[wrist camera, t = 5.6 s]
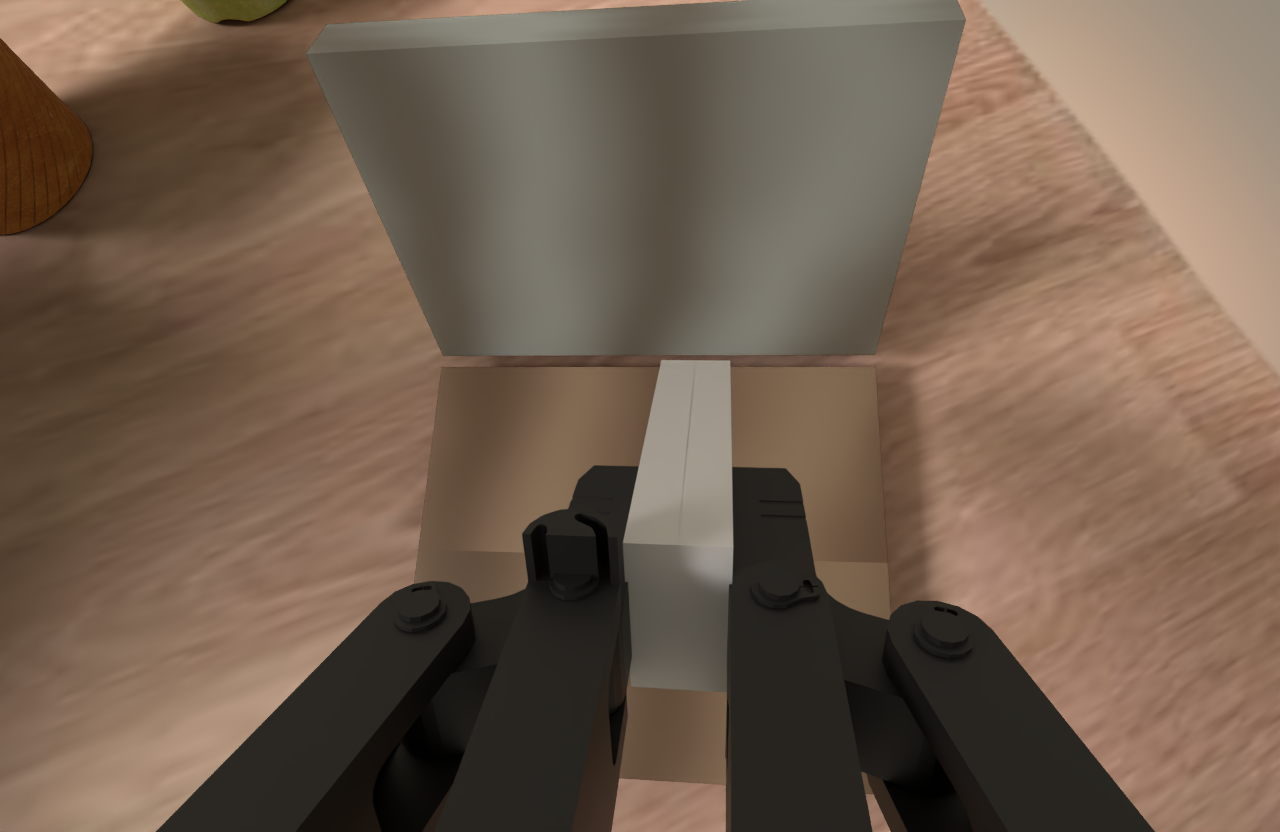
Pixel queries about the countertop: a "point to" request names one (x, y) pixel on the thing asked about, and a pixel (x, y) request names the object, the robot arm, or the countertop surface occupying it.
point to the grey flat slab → (648, 169)
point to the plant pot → (232, 9)
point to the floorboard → (614, 436)
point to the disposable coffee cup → (36, 147)
